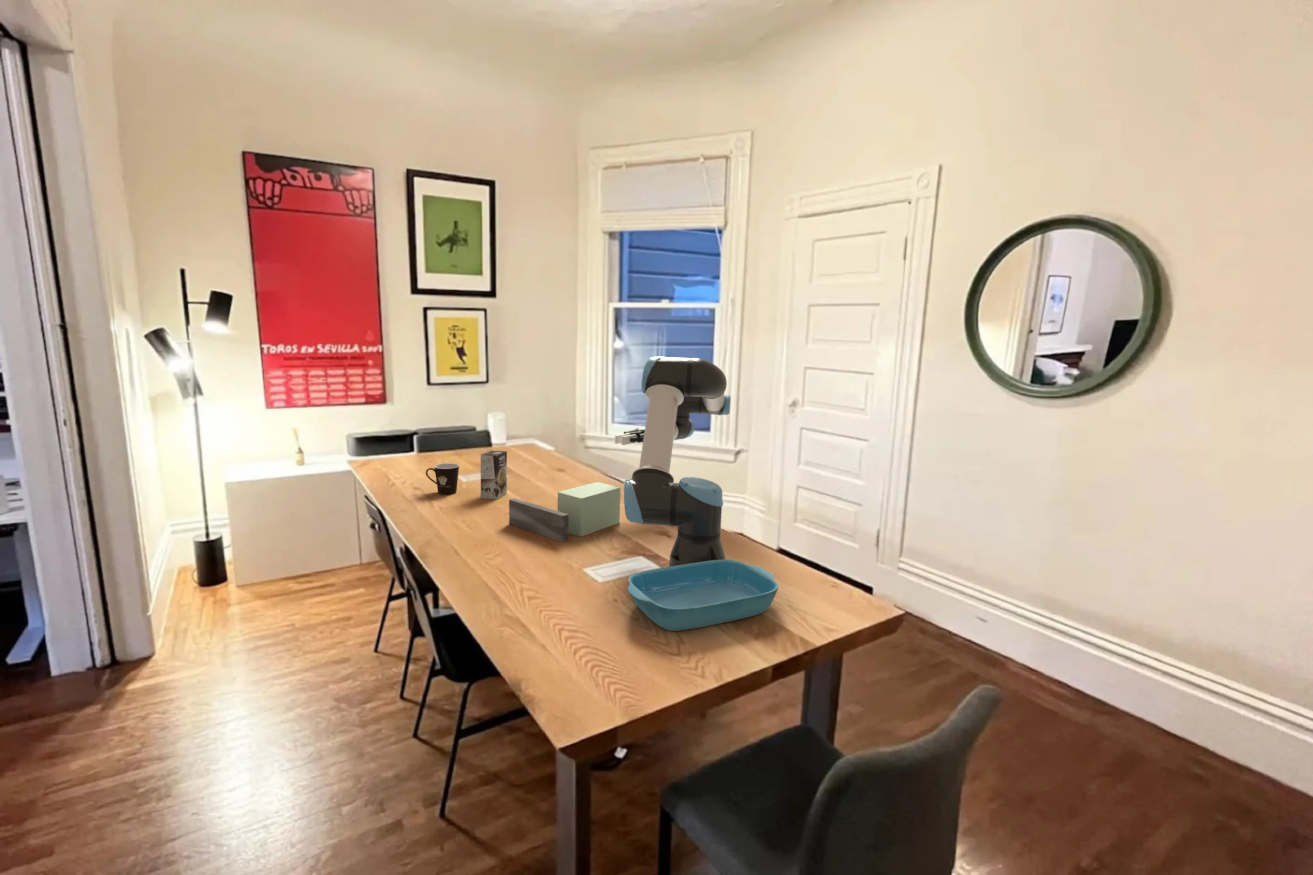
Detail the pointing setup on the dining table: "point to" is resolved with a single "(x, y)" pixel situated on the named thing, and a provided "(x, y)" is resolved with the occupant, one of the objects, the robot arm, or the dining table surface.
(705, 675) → the dining table surface
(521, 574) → the dining table surface
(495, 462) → the coffee box
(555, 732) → the dining table surface
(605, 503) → the sage block
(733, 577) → the casserole dish
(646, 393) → the robot arm
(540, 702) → the dining table surface
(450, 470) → the coffee mug
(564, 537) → the charcoal board
